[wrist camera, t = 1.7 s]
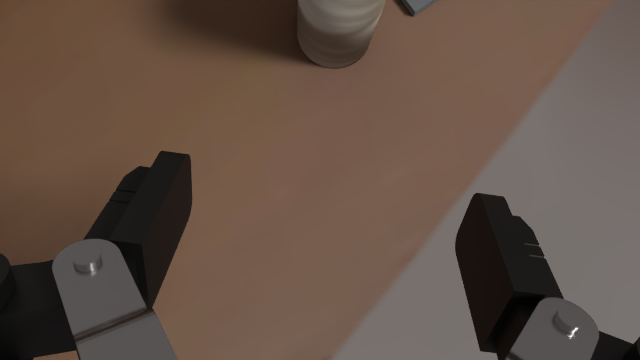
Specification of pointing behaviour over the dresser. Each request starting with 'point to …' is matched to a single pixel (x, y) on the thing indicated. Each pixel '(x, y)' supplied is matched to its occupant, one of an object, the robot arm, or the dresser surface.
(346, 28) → the cream peg
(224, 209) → the dresser surface
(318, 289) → the dresser surface
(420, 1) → the slate mat
